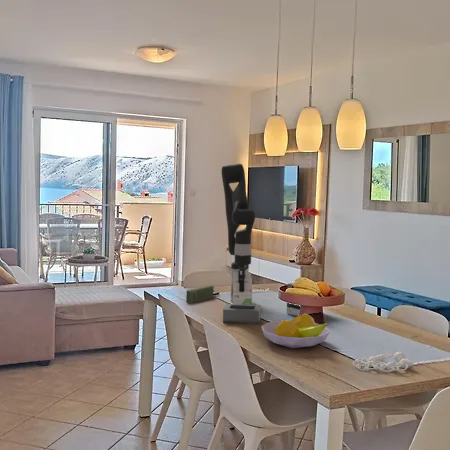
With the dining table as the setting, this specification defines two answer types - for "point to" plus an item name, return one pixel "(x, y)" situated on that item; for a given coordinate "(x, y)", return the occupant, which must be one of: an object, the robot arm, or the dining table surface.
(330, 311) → the dining table surface
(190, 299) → the handheld radio
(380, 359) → the tangled rod sculpture
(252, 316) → the desk holder
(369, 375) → the dining table surface
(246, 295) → the ink box
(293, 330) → the fruit bowl
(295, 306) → the tea box
